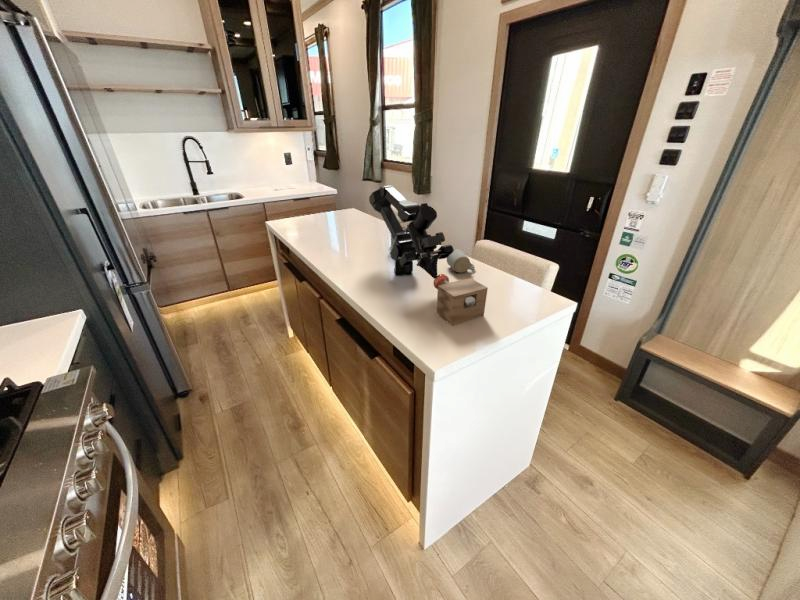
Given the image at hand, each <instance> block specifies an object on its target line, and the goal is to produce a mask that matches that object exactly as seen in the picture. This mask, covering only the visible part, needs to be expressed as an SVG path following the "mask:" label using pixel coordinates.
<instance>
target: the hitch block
mask: <svg viewBox="0 0 800 600" xmlns="http://www.w3.org/2000/svg"><path fill="white" fill-rule="evenodd" d="M488 290H489V289H488V287H487V286H485V285H484V284H482V283H480V282H478V281H477V280H475V279H474V278H471V277H468V278H463V279H460V280H455V281H452V282H450V283H447V284H442V285H438V289H437V296H436V297H437V298H436V308H435V309H436V312H435V313H436V315H438V316H439V317H440V318H441V319H442V320H444V321H445V322H446V323H448V324H449V325H450V326H454V325H458V324H462V323H465V322H467V321H468V322H469V321H472V320H474V319H479V318H481V317H484V315H485V310H486V309H485V308H486V302H487V297H488V296H487V294H488ZM466 296H472V297H473V298H475V304H474V305H473V306H471V307H469V306H468V305H466V304H465V303H464V297H466Z"/></svg>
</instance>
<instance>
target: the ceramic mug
mask: <svg viewBox="0 0 800 600" xmlns="http://www.w3.org/2000/svg"><path fill="white" fill-rule="evenodd" d="M446 263H447V265H448V266H449V267H450V268H451V269H452V270H453V271H454V272H456V273H459V274H463V273H466V272H467V271H468V270H470V271H474V269H475V267H476V266H475V265H474V264H473V263H471V261H470V258H469V257H468V256H467V255H466V254H465V253H464V251H462V250H461V249H458V248H457V249H454V251H453V252H452V253H451V254H450V255H449V256H448V257H447V258H446Z"/></svg>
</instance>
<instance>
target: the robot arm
mask: <svg viewBox="0 0 800 600" xmlns="http://www.w3.org/2000/svg"><path fill="white" fill-rule="evenodd" d="M368 201H369V203H370V205H371V207H372V208H373V210H374V211H376V212H377V213H379V214H380V215H381V217H382V220H383V221H384V223H385V225H386V227H387V229H388V231H389V233H390V236H391V235H392V237H393V239H394V243H393V249H392V250H390V258H391V259H392V260H393V261H394V268H393V270H394V274H395V276H397V277H399V276H412V275H413V270H414V263H413V262H414V261H417V263H416V266H417V267H419V268H421V269H422V270H424V271H425V272H426V273H428V275H429V276H430V277H431V278H432V279H435V278H436V277H437V276H438V262H439V261H438V260H444V259H447V257H448V256H449V255H450V254H451V253H452V252H453V251H454V250H455V249H454V247H453V245H452V244H449V243H448V244H444V245H442V244H443V243H444V242H445V241H446V238H445V235H444V232H442V231H441V232H437V233H435V235H431V234H428V232H427V230H428V229H429V228H430V227H431V226H432V224H433V223H434V222H435V221H436V219H437V217H438V214H437V210H436V209H435V208H434V207H432V206H430V205H429V204H428V203H427V202H423V203H421V204H418V203H417V202H415V201H412V200H408V199H406V198H405V197H404V196H403V195H402V194H401V193H400V192H399V191H398V190H397V189H396V187H395V186H394V185H393V184H391V185H382V186H380V187H379V189H376V190H375V191H373V192H372V193H371V194H370V195H369V198H368ZM392 206H393V207H394V209H395V210H396V211H397V214H396V213H395V212H394V210H393V208H392ZM396 215H397V216H398V217H399V218H400V219H401V221H402V222H404V223H407V222H409V223H408V224H407V225H406V233H405V232H404V230H403V229H402V227H403V226H402V225H401V223H399V221H398V219H397V217H396ZM401 226H402V227H401ZM438 246H440V247H439V248H438V249H437V247H438Z"/></svg>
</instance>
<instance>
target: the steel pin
mask: <svg viewBox="0 0 800 600" xmlns="http://www.w3.org/2000/svg"><path fill="white" fill-rule="evenodd" d="M433 279H434V278H433ZM449 279H450V278H449V276H447V275H446V274H443V273H440V274H437V277H436V278H435V279H434V280H433V287H434V288H435V289H436V290H438V285H442V284H447V283H451V282H450V280H449ZM464 303H465V304H466V305H468V306H469V307H471V306H473V305H474V304H475V298H473V297H472V296H466V297H464Z"/></svg>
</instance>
